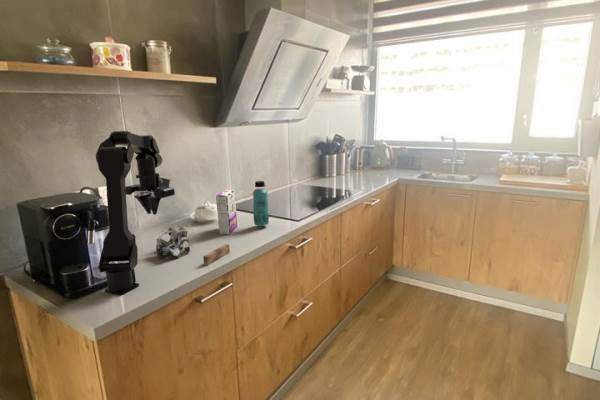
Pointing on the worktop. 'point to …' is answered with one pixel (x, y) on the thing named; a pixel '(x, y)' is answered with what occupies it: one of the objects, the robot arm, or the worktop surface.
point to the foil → (176, 236)
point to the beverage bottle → (260, 205)
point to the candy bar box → (226, 211)
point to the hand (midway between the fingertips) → (152, 214)
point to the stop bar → (216, 254)
